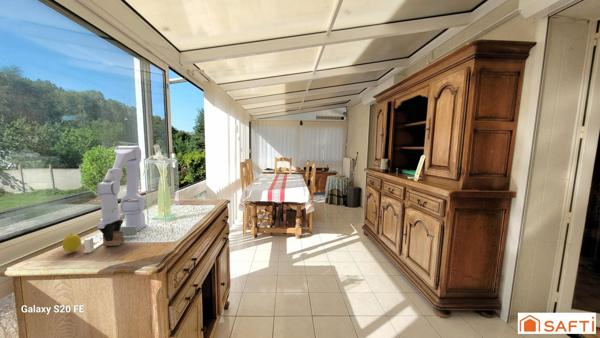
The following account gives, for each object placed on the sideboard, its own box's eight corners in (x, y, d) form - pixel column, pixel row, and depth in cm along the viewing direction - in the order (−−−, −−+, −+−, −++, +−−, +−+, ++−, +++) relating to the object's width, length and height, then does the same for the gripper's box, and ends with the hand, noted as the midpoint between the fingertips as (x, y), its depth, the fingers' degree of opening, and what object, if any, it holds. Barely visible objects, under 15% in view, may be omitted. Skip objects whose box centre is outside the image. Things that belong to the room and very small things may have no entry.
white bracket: (110, 236, 114) (110, 225, 113) (116, 235, 114) (115, 225, 114) (83, 253, 96) (82, 240, 95) (90, 252, 96) (89, 239, 96)
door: (108, 237, 110) (107, 226, 110) (110, 235, 112) (109, 225, 112) (136, 235, 112) (135, 225, 112) (138, 234, 114) (137, 223, 114)
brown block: (109, 242, 105) (108, 231, 104) (124, 241, 106) (123, 230, 106) (103, 246, 101) (102, 235, 100) (119, 245, 102) (118, 234, 102)
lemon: (60, 256, 93) (58, 237, 92) (66, 251, 97) (64, 232, 97) (79, 253, 95) (77, 234, 94) (84, 248, 100) (82, 230, 99)
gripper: (109, 205, 108) (112, 233, 110) (87, 214, 94) (90, 246, 95) (126, 204, 110) (128, 232, 111) (107, 213, 95) (110, 244, 97)
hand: (112, 238), depth 103 cm, fingers closed on brown block, 4 cm apart
